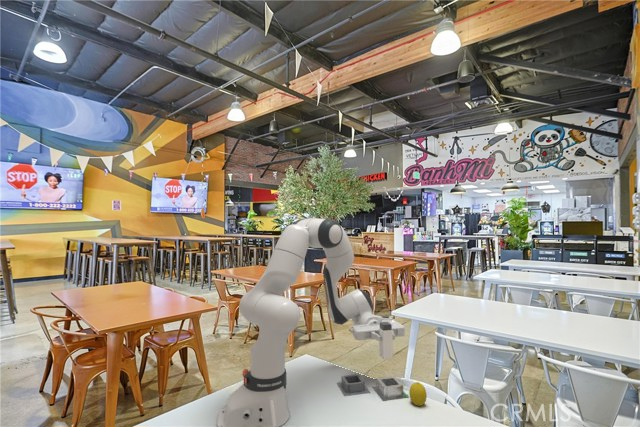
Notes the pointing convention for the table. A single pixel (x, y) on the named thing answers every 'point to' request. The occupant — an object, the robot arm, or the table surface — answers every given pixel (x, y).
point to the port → (390, 389)
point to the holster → (352, 385)
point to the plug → (386, 340)
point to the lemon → (417, 394)
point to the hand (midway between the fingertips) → (386, 338)
